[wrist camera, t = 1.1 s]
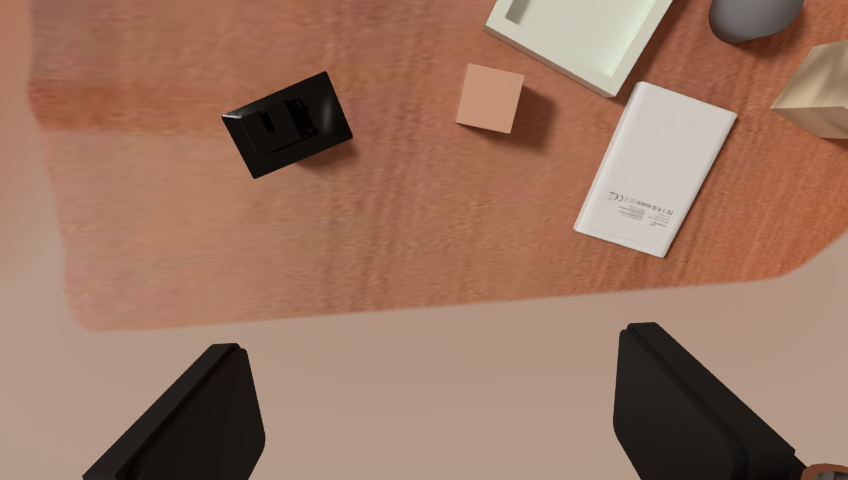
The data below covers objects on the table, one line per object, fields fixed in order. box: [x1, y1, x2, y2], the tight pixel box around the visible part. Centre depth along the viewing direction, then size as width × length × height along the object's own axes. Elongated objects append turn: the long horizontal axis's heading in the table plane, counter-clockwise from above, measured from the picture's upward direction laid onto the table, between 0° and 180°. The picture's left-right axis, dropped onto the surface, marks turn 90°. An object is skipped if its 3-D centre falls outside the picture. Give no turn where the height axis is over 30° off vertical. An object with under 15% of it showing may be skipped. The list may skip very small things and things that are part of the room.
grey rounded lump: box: [709, 0, 804, 43], centre depth 29 cm, size 4×4×3 cm
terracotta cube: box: [453, 63, 525, 134], centre depth 31 cm, size 4×4×4 cm
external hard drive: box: [573, 82, 737, 258], centre depth 33 cm, size 2×8×12 cm
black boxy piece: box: [222, 71, 353, 179], centre depth 32 cm, size 12×7×5 cm, turn 111°
